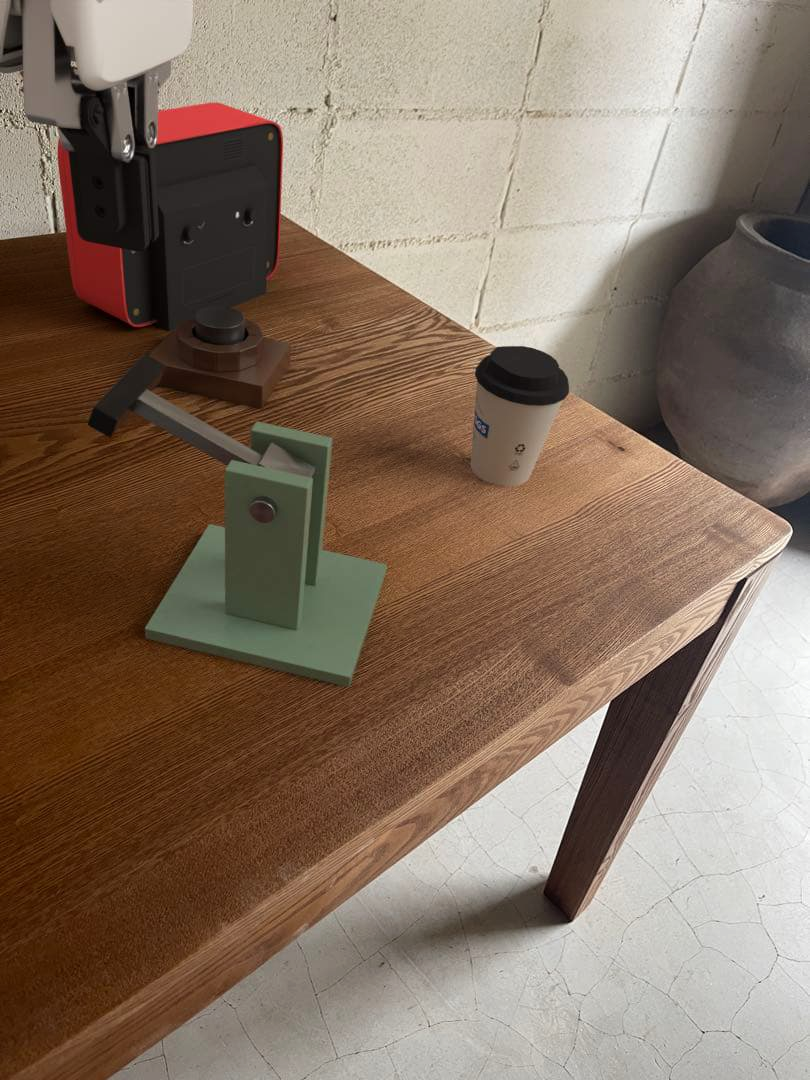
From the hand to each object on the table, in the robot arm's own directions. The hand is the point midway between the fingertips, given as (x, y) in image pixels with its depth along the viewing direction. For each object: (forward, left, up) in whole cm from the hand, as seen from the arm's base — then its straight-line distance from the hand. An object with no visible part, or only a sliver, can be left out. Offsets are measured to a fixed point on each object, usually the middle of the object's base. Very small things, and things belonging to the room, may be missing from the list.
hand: (119, 239), depth 40 cm
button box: (-5, +26, -22) cm, 34 cm away
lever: (+4, 0, -11) cm, 12 cm away
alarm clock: (-13, +39, -22) cm, 47 cm away
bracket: (+8, 0, -22) cm, 23 cm away
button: (-5, +26, -18) cm, 32 cm away
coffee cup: (+20, +20, -22) cm, 36 cm away
